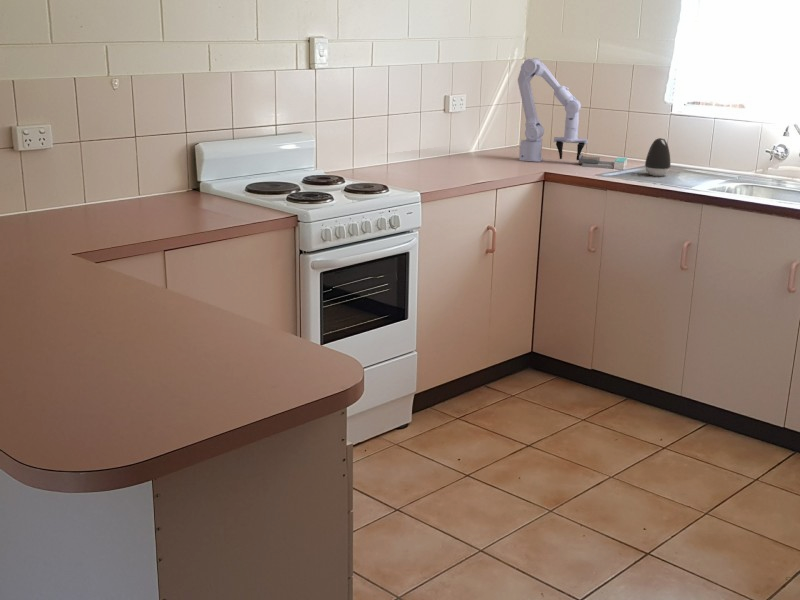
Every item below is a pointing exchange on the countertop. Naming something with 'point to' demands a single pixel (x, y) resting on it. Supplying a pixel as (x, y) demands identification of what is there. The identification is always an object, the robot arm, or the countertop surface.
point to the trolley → (588, 160)
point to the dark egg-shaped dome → (658, 158)
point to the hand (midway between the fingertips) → (569, 159)
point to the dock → (610, 164)
